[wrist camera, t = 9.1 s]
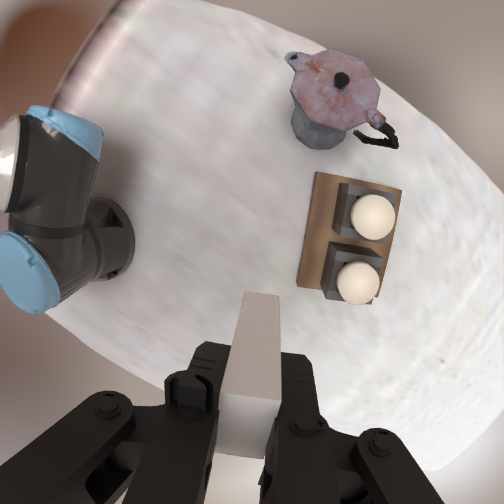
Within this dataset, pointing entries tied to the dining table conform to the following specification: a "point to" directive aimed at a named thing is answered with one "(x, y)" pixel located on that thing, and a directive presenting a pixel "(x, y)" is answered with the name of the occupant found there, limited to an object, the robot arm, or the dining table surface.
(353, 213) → the plunger near
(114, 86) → the dining table surface
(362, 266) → the plunger far
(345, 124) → the moka pot
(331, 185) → the mount
